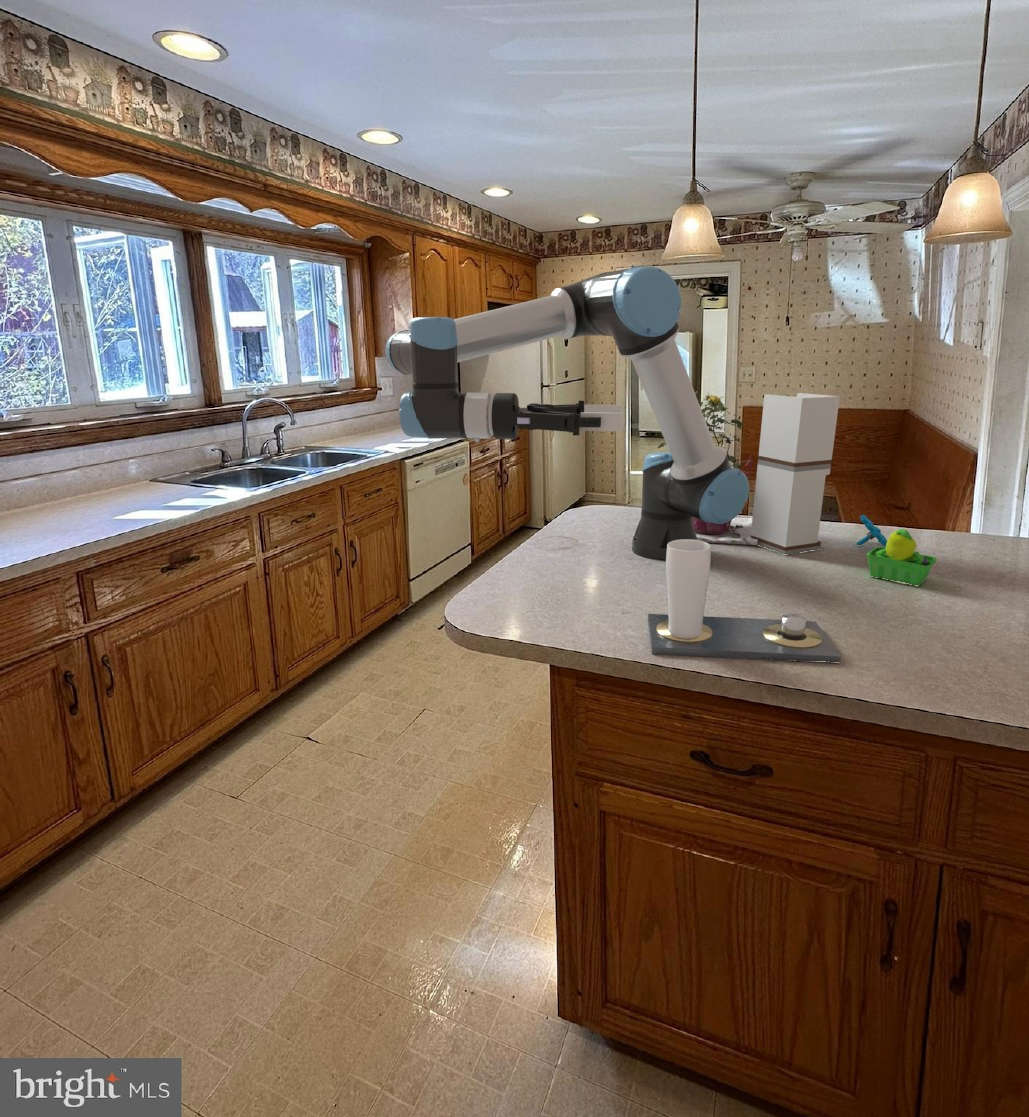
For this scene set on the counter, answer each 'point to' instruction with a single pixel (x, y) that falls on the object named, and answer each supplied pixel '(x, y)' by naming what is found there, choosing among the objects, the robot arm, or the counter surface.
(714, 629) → the bolt plate
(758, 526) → the white banded pillar
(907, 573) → the fruit basket
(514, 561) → the counter surface
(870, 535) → the blue plastic t-shaped piece
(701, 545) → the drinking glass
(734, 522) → the potted flower
